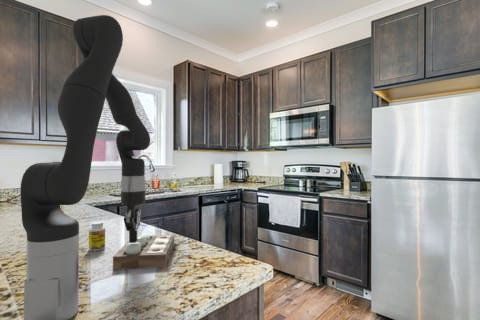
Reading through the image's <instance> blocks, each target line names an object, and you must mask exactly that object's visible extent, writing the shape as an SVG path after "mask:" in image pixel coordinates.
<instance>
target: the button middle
mask: <svg viewBox="0 0 480 320" xmlns="http://www.w3.org/2000/svg"><path fill="white" fill-rule="evenodd" d="M136 242H140V243H141V247H145V246H146V237H145V236H142V235H139V236H138V235H137V241H136Z"/></svg>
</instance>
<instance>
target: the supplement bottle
mask: <svg viewBox="0 0 480 320" xmlns="http://www.w3.org/2000/svg"><path fill="white" fill-rule="evenodd" d="M105 248H106V227H105V226H104V222H103V221H94V222H91V228H89V229H88V250H89V251H91V252H98V251H103V250H104V249H105Z"/></svg>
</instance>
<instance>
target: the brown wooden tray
mask: <svg viewBox="0 0 480 320" xmlns="http://www.w3.org/2000/svg"><path fill="white" fill-rule="evenodd" d="M149 236H150V241H146V246H145V247H141V253H140V254H132V255H126V244H128V243H130V242H129V240H128V241H127V242H126V243H125V244H124V245H123V246H122V247H121V248H120V249H119V250H118V251H117V252H116V253H115V254H114V255H113V256H112V270H113V271H114V270H132V269H134V270H135V269H152V268H166V267H167V264H168V262H169V260H170V257H171V255H172V252H173V251H174V250H173V249H174V247H175V235H174V234H166V235H165V234H164V235H161V234H160V235H149Z"/></svg>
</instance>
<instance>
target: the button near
mask: <svg viewBox="0 0 480 320" xmlns="http://www.w3.org/2000/svg"><path fill="white" fill-rule="evenodd" d="M125 244H126V243H125ZM140 253H141V243H140V242H135V243H128V244H126V255H132V254H140Z"/></svg>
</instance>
